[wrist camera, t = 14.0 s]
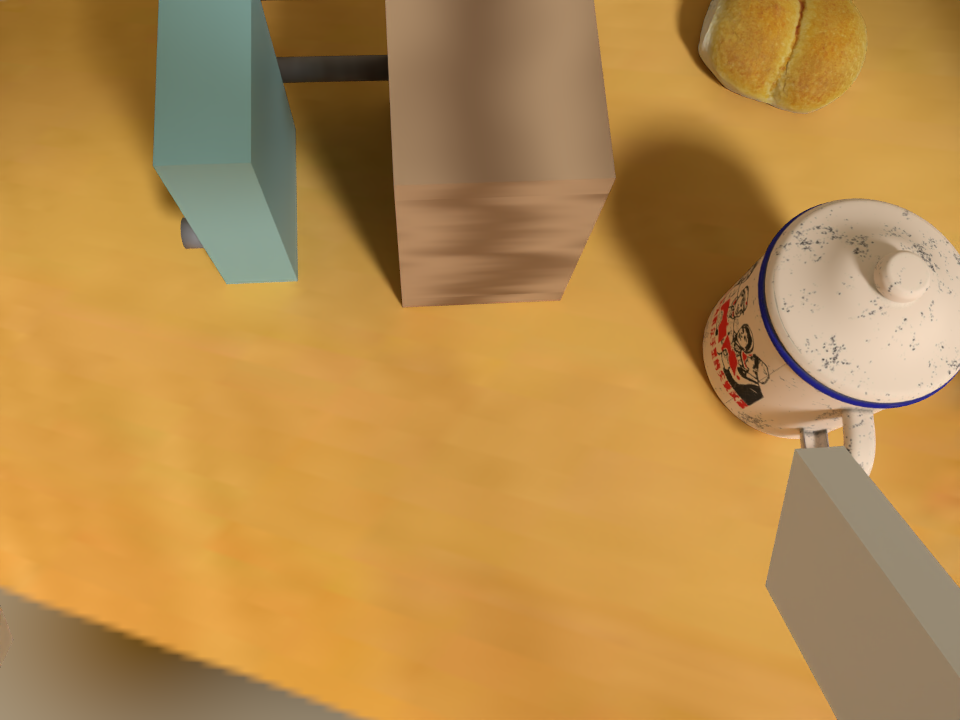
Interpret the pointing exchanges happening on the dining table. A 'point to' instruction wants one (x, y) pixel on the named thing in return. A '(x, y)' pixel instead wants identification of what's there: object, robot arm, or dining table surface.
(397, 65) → the cabinet
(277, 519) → the dining table surface
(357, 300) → the dining table surface
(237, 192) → the door
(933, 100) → the dining table surface
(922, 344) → the teacup with lid
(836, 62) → the bread roll
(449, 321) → the dining table surface
